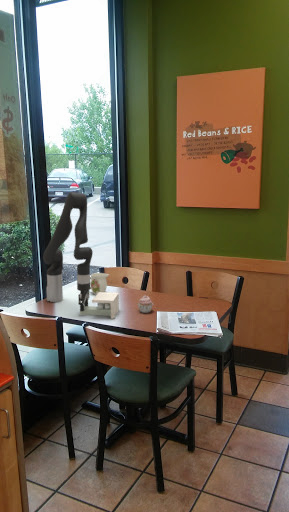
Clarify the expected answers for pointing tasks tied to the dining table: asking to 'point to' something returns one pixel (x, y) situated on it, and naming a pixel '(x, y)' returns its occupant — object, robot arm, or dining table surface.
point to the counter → (108, 301)
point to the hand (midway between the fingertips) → (84, 308)
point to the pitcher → (98, 282)
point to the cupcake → (145, 304)
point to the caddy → (97, 309)
